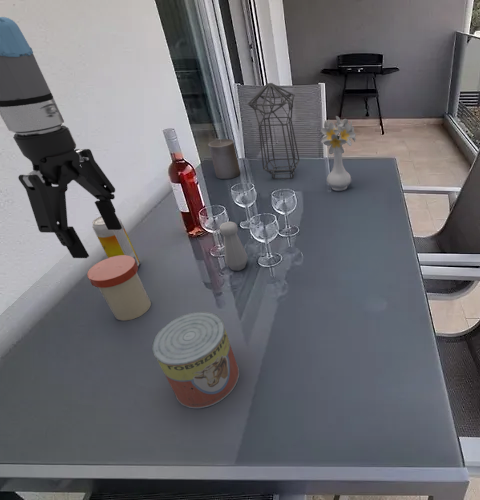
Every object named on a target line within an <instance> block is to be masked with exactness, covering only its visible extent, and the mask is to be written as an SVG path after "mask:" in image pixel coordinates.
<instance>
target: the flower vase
mask: <svg viewBox="0 0 480 500" xmlns="http://www.w3.org/2000/svg"><path fill="white" fill-rule="evenodd" d="M335 119H336V122H335V123H333V122H332V121H331V122H330V119H328V120H326V119H325V120H324V123H323V127H322V128H320V131H319V135H321V136H320V137H319V140H321V141H320V143H321V144H323V145H324V146H327V147H329V149H328V154H329V155H333V165H332V169H331V171H330V172H329V173H328V174H327V176H326V183H327V185H328V186H329V187H331V190H333V191H334V192H335V191H336V192H343V191H345V190H347V189H348V187H349V186H350V185H351V183H352V175H351V174H350V173H349V172H348V171H347V170H346V168H345V165H344V161H343V154H344V153H345V149H344V148H343V145H345V144H347V145H348V146H349V147H352V144H353V143H352V140H353V142H354V143H356V141H357V138H356V136H357V133H356V132H355V126H353V125H352V124H353V122H352V119H351V120H350V123H349V120H348V119H347V118H344V119H342V120H341V117H339V116H338V115H335ZM339 134H340V135H339Z"/></svg>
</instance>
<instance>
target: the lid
mask: <svg viewBox="0 0 480 500" xmlns="http://www.w3.org/2000/svg"><path fill="white" fill-rule="evenodd" d="M138 271H139V266H137V263H136V262H135V259H134V258H133V257H131V256H127V255H120V256H114V257H110V258H108V257H107V258H105V259H103V260H102V259H101V260H100V261H98V262H97V263H95V264H94V265H92V266H91V267H90V268H89V269H88V271H87V275H86V276H87V278H88V280H89V282H90V283H91V285H92V287H96V288H98V287H99V288H106V287H112V286H116V285H119V284H121V283H124V282H126V281H127V280H129V279H130V278H132V277H133V276H134V275H135V274H136V273H137V274H138ZM99 288H98V289H99Z"/></svg>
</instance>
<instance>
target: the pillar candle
mask: <svg viewBox="0 0 480 500" xmlns="http://www.w3.org/2000/svg"><path fill="white" fill-rule="evenodd" d="M207 146H208V149H209V153H210V156H211V160H212V161H211V162H212V164H213V168H214V172H215V177H216V178H217V179H219V180H231V179H235V178H237V177H239V176H240V174H241V170H240V167H239V166H240V165H239V160H238V157H237V151H236V147H235V142H234V140H233V139H230V138H219V139H215V140H212V141H210V142H208V144H207Z"/></svg>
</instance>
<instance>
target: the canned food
mask: <svg viewBox="0 0 480 500" xmlns="http://www.w3.org/2000/svg"><path fill="white" fill-rule="evenodd" d="M151 351H152V354H153V356H154V358H155V359H156V360H157V362H158V364H159V366H160V368H161V370H162V372H163V374H164V376H165V377H166V380H167V381H168V384H169V385H170V387H171V389H172V390H173V393H174V395H175V398H176V400H177V402H178V403H179V404H180V405H182V406H184V407H186V408H190V409H194V410H195V409H198V410H199V409H205V408H208V407H209V408H210V407H212V406H214V405H216V404H218V403H220V402H221V401H223V400H225V398H227V397H228V396H229V395H230V394H231V393H232V391H233V390H234V389H235V387H236V385H237V384H238V381H239V377H240V367H239V365H238V362H237V361H236V357H235V355H234V351H233V349H232V346H231V342H230V339H229V336H228V334H227V330H226V326H225V323H224V320H223V319H222V318H221V316H219V315H217V314H216V313H214V312H209V311H194V312H189V313H185V314H183V315H181V316H178V317H176V318H174V319H172V320H171V321H169V322H168V323H167V324H165V325H164V326H163V327H162V328H161V329H160V330H159V331H158V332H157V334H156V335H155V337H154V339H153V342H152V345H151Z"/></svg>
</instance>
